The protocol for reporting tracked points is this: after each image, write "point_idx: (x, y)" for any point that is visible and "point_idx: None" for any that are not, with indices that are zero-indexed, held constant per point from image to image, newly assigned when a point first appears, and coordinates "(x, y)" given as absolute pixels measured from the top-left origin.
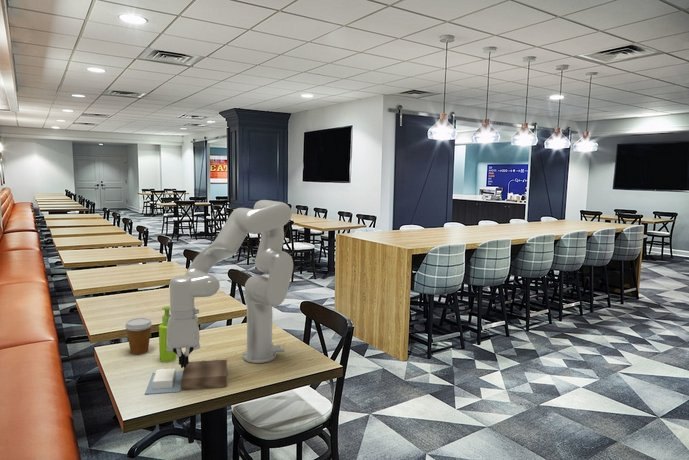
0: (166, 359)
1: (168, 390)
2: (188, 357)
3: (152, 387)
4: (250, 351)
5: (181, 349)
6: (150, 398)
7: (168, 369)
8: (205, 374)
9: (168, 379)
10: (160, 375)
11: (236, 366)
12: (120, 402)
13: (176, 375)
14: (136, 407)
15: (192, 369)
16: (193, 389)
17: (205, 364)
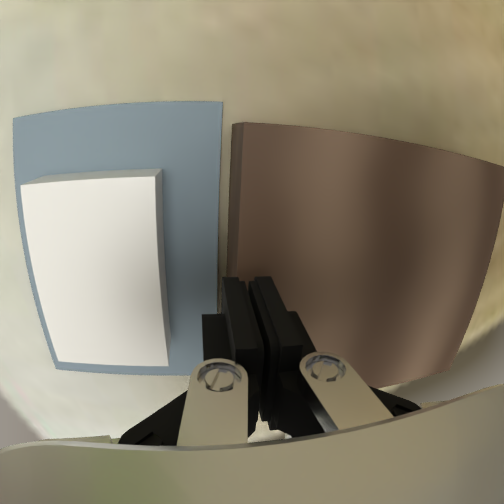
0: None
1: None
2: (309, 339)
3: None
4: None
5: (246, 421)
6: (95, 397)
7: (100, 189)
8: (374, 364)
9: (140, 352)
10: (70, 289)
11: (495, 127)
12: (5, 393)
13: (169, 172)
14: (76, 434)
15: (306, 292)
16: None
17: (404, 217)
